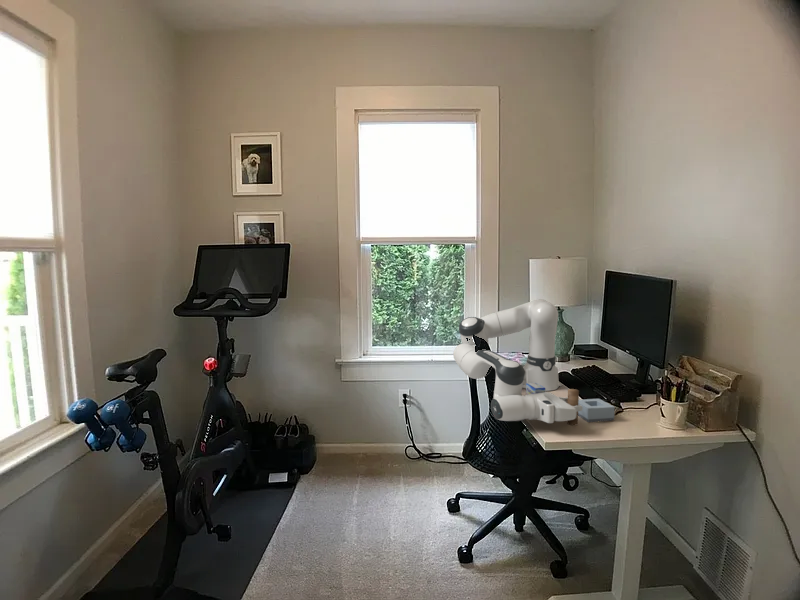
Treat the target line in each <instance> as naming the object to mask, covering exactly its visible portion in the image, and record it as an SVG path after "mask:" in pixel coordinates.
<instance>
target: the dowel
mask: <svg viewBox="0 0 800 600" xmlns="http://www.w3.org/2000/svg"><path fill="white" fill-rule="evenodd" d="M579 394H580V390H578V389H576V388H575V389H574V388H569V389H567V397H568V404H570V405H571V406H576V405H578V401H579V400H580V399H579ZM566 424H567V425H569V426H578V425H577V424H579V416H578V411H577V412H576V418H575V419H574V420H568V421H566Z"/></svg>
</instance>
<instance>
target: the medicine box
mask: <svg viewBox="0 0 800 600" xmlns="http://www.w3.org/2000/svg"><path fill="white" fill-rule="evenodd" d="M543 392H546V391H545V388H544V387H543V386H541V385H539V384H537V383H526V388H525V395H527V394H536V393H543Z"/></svg>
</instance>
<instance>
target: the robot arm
mask: <svg viewBox="0 0 800 600" xmlns="http://www.w3.org/2000/svg"><path fill="white" fill-rule="evenodd" d="M558 319H559V311H558V309H557V307H556V306H555V305H554V304H553V303H551V302H549V301H548V300H545V299H541V298H537V299H534V300H532V301H529V302H525V303H522V304H519V305H517V306H514V307H511V308H506V309H502V310H499V311H496V312H492V313H488V314H486V315H484V316H481V317H480V318H479V317H476V316H468V317H466V318H464V319H463V320H461V321H460V323H459V325H458V333H459V334H460V340H461V343H460V344H458V345H457V346H456V347H455V348H454V351H453V355H452V356H453V359H454V361H455V363H456V364H457V366H458V367H459V369H460V370H461V371H462V372H463V373H464V374H465V375H466V376H467V377H469V378H471V379H475V380H477V379H478V380H479V379H482V378H484V377H486V376H487V375H488V374H487V372H488V370H489V368H490V367H491V366H492V368H493V369H494V370H495V381H494V382H495V383H494V390H493V398H492V400H491V402H490V410H491V413H492V415H493V417H494V418H495V419H496V420H497V421H498V420H499V421H504V422H520V421H523V420H530V421H533V420H534V421H536V420H537V421H542V422H544V423H547V424H553V423H554V422H565V421H566V422H567V421H568V420H574V419H575V418H576V412H577V411H582V408H583V407H582V406H581V405H576V406H571V405H570V404H568V396H567V397H563V396H558V395H555V394H553V393H552V392H550V391H554V390H558V389H559V388H560V387H562V383H561V382H559V369H558V367H557V366H556V364H557V363H556V362H557V358H556V355H555V351H556V349H555V348H556V346H555V345H556V336H557V335H556V334H557V327H558ZM529 328H530V330H529V338H528V354H527V358H526V363H525V364H524V365H523V366H522V364H521V363H520V362H518V361H515V360H512V359H509V358H507V357H504V356H502V355H501V354H499V353H497V352H495V351H493V350H491V349H490V350H486V349H482V350H478V351H477V352H475V343H474V342H473V339H472V337H473V334H474V335H475V336H477V337H479V338H482V339H484V340H485V341H486V342H487V343H488V345H489V346H490V343H489V339H495V338H499V337H504V336H508V335H511V334H515V333H519V332H522V331H523V330H526V329H529ZM466 338H468V341H467V339H466ZM469 339H470V340H469ZM468 342H469V343H468ZM486 374H487V375H486ZM526 383H537V384H539V385H541V386H543V387H544V388H545V392H543V393H536V394H527V395H526V394H524V395H523V394H522V390H523V389H526ZM559 386H560V387H559ZM548 391H549V392H548Z"/></svg>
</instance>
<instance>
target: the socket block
mask: <svg viewBox="0 0 800 600" xmlns="http://www.w3.org/2000/svg"><path fill="white" fill-rule="evenodd" d="M578 405H581V406H582V407H583V408H582V411H578V418H579V417H580V418H581V419H583V420H584V421H585V422H587V423H593V422H594V423H595V422H596V423H598V421H599V422H611V421H612V420H614V421H615V406H614V405H611V404H610V403H608V402H607V401H605V400H602V399H601V398H587V399H585V398H584V399H579V401H578Z"/></svg>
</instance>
